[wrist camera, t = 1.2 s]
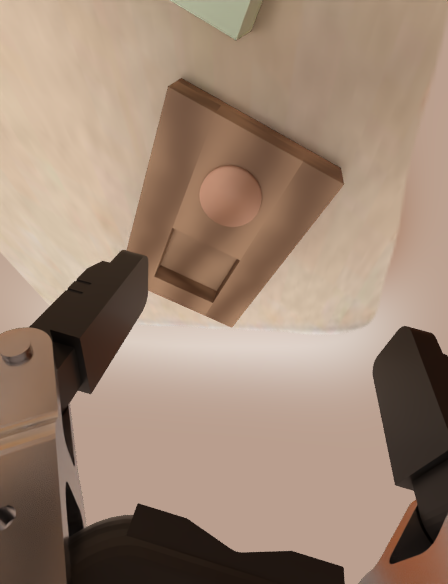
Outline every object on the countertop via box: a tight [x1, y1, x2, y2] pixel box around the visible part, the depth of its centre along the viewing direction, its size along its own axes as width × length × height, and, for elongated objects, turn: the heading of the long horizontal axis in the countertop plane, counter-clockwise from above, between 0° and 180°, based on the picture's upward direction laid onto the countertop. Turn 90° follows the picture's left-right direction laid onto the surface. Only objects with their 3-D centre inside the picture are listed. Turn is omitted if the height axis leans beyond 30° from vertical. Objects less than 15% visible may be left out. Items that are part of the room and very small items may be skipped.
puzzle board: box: [127, 78, 344, 327], centre depth 29 cm, size 14×20×4 cm
